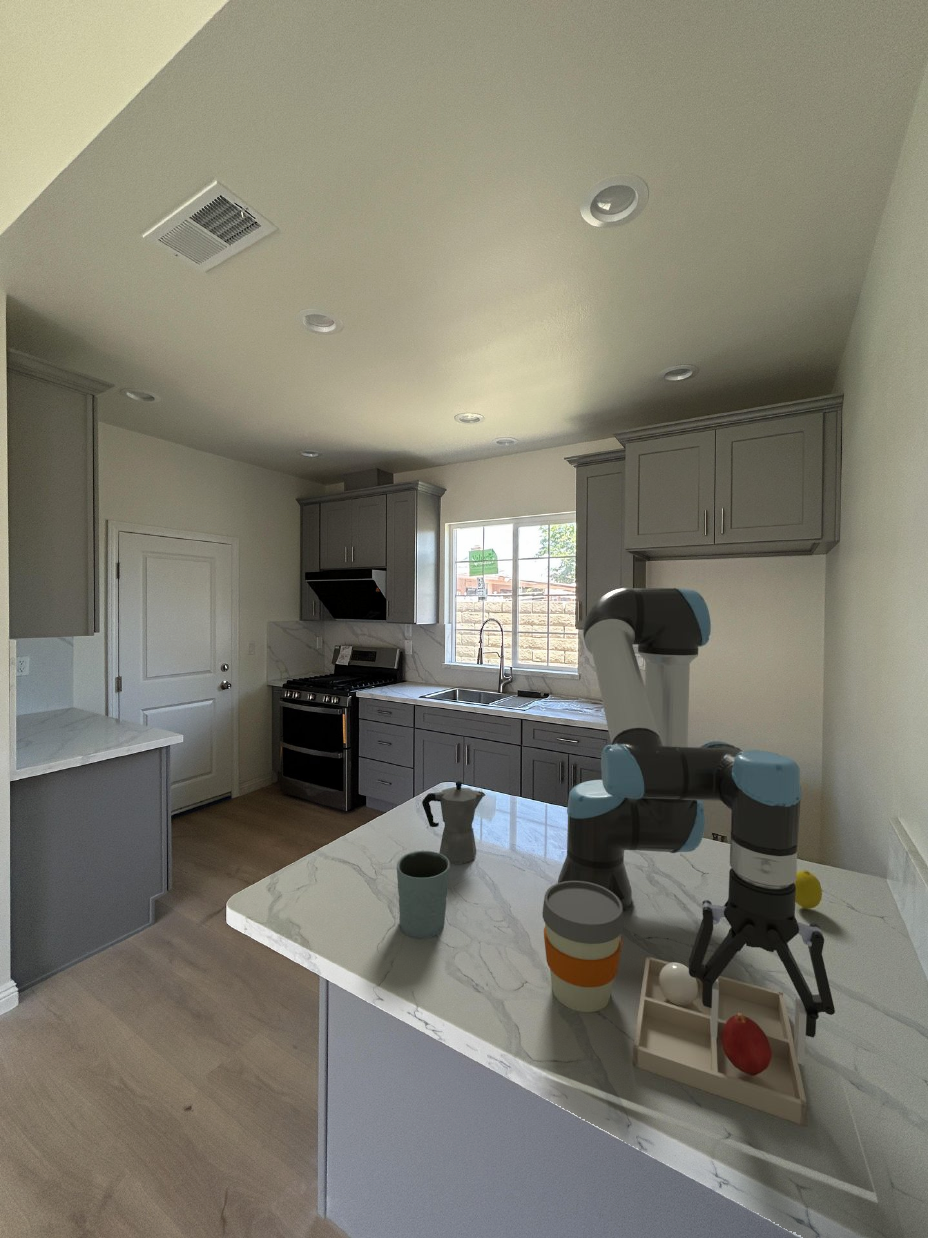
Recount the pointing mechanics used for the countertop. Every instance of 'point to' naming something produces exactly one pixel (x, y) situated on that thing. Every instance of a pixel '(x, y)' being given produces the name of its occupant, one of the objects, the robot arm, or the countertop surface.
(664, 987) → the ceramic egg
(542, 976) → the countertop surface
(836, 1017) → the countertop surface
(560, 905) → the reusable coffee cup
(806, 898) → the lemon
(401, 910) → the green cup
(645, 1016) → the wooden tray
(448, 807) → the coffeepot
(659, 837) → the robot arm
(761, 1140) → the countertop surface
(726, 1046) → the onion
